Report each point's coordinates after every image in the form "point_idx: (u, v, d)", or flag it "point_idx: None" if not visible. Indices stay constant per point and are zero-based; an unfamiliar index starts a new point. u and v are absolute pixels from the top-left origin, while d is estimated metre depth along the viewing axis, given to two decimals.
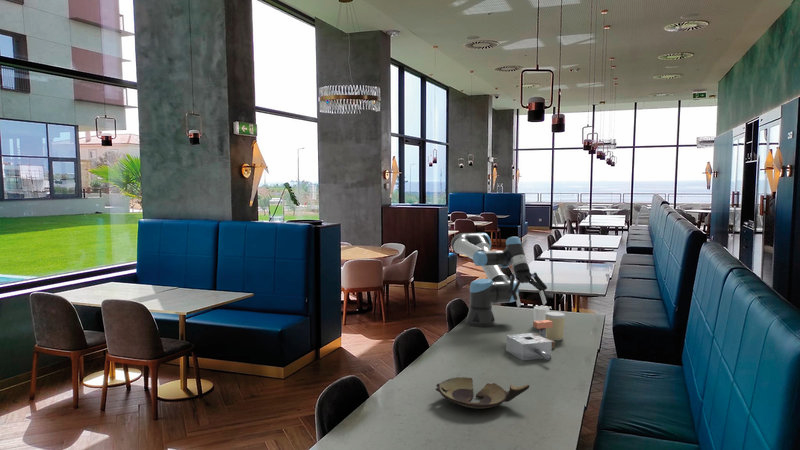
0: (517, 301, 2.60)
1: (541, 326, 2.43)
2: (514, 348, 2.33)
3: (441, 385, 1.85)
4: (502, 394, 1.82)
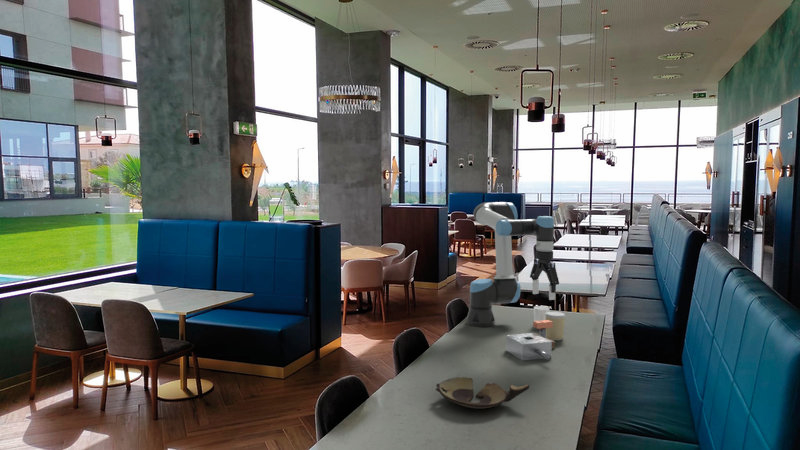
0: None
1: (541, 326, 2.43)
2: (514, 348, 2.33)
3: (441, 385, 1.85)
4: (502, 394, 1.82)
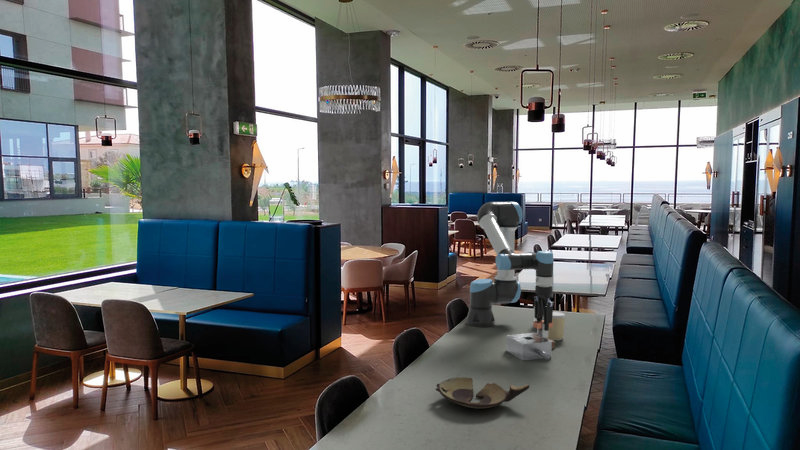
0: None
1: (541, 326, 2.43)
2: (514, 348, 2.33)
3: (441, 385, 1.85)
4: (502, 394, 1.82)
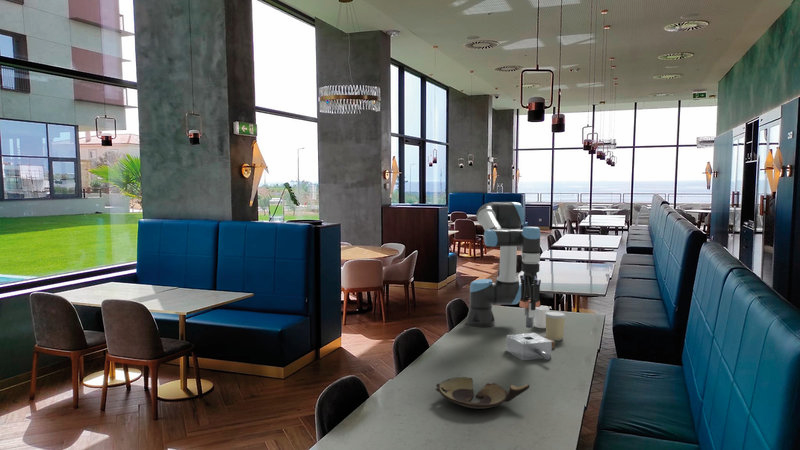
0: None
1: (528, 305, 2.31)
2: (514, 348, 2.33)
3: (441, 385, 1.85)
4: (502, 394, 1.82)
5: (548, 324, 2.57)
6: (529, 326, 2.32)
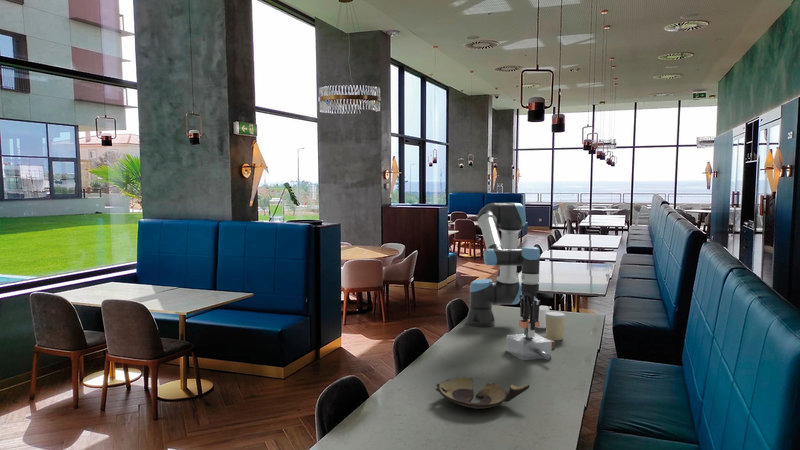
0: None
1: (527, 325, 2.32)
2: (514, 348, 2.33)
3: (441, 385, 1.85)
4: (502, 394, 1.82)
5: (548, 324, 2.57)
6: None
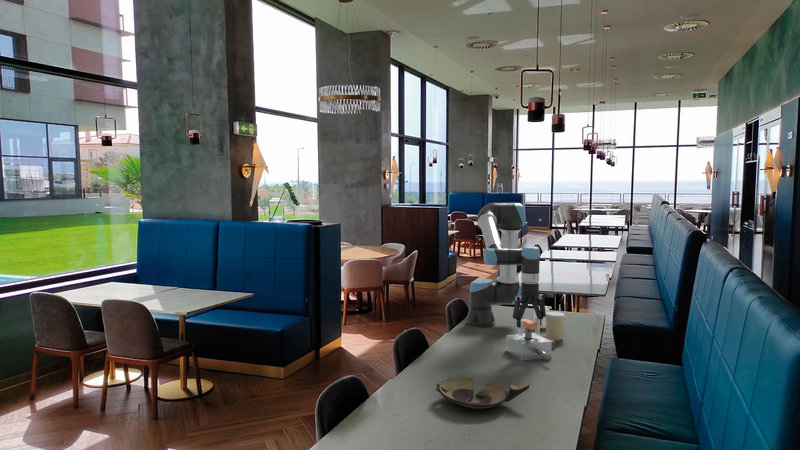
0: (519, 329, 2.33)
1: None
2: (514, 348, 2.33)
3: (441, 385, 1.85)
4: (502, 394, 1.82)
5: (548, 324, 2.57)
6: None
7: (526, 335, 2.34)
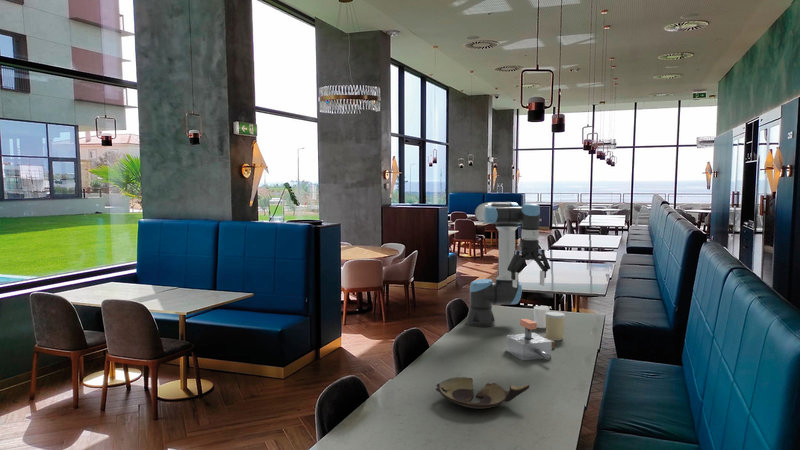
0: (514, 281, 2.37)
1: None
2: (514, 348, 2.33)
3: (441, 385, 1.85)
4: (502, 394, 1.82)
5: (548, 324, 2.57)
6: None
7: (526, 335, 2.34)
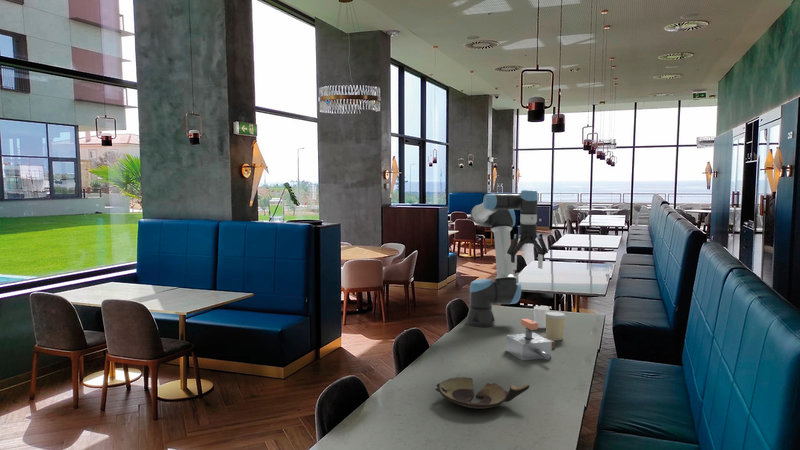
0: (513, 264, 2.48)
1: None
2: (514, 348, 2.33)
3: (441, 385, 1.85)
4: (502, 394, 1.82)
5: (548, 324, 2.57)
6: None
7: (526, 335, 2.34)
